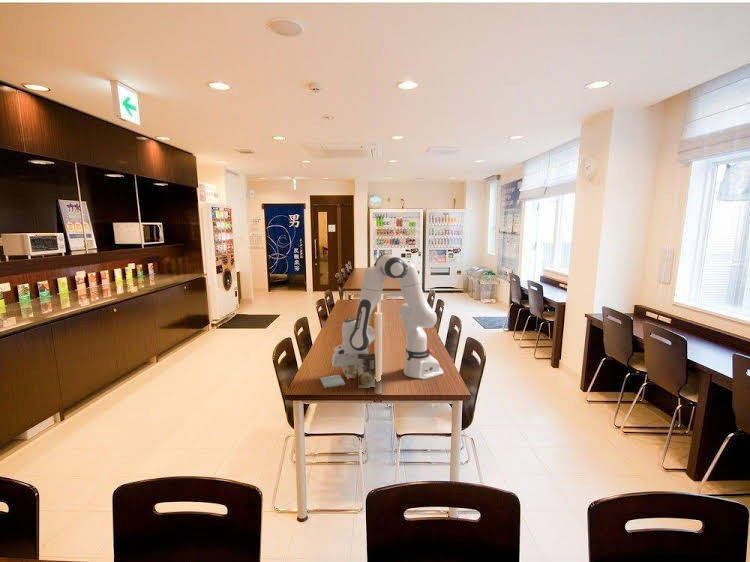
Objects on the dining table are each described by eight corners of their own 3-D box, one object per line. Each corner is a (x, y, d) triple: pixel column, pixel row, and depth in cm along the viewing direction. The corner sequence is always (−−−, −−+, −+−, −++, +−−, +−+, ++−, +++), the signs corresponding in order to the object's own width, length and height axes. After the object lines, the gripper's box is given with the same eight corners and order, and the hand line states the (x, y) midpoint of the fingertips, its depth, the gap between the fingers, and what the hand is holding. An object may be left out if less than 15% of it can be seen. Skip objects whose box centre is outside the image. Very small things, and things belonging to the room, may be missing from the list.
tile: (339, 376, 193) (339, 374, 193) (345, 384, 183) (345, 382, 183) (320, 379, 190) (320, 377, 190) (324, 388, 180) (324, 386, 179)
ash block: (353, 374, 196) (353, 364, 195) (356, 377, 192) (356, 367, 191) (345, 375, 195) (345, 365, 194) (347, 379, 190) (347, 368, 189)
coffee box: (375, 382, 186) (375, 353, 184) (375, 388, 180) (375, 357, 177) (358, 382, 186) (358, 353, 183) (358, 388, 179) (357, 358, 177)
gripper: (366, 344, 197) (366, 367, 199) (330, 348, 190) (331, 372, 192) (370, 347, 191) (370, 371, 193) (333, 352, 184) (334, 377, 186)
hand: (350, 372), depth 193 cm, fingers closed on ash block, 5 cm apart
